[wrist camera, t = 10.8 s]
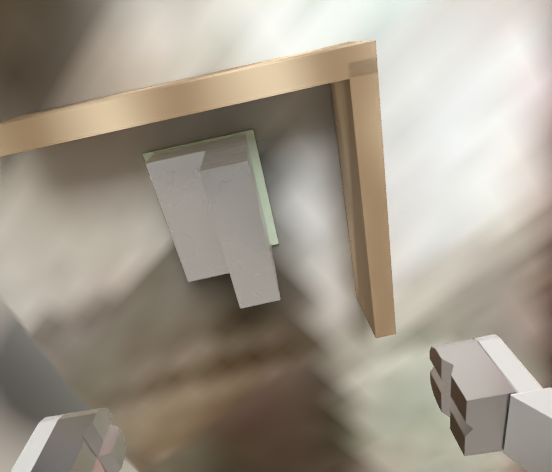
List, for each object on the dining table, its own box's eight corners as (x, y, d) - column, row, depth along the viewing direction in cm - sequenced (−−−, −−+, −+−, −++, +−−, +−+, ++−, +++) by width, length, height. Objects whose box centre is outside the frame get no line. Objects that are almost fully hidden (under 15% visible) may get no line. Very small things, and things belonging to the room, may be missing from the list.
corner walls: (349, 42, 19) (375, 40, 15) (374, 294, 26) (395, 333, 22) (23, 114, 19) (-26, 130, 15) (136, 346, 26) (120, 393, 22)
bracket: (153, 153, 20) (126, 187, 15) (245, 133, 20) (247, 160, 15) (191, 264, 23) (179, 321, 18) (271, 246, 23) (280, 299, 18)
